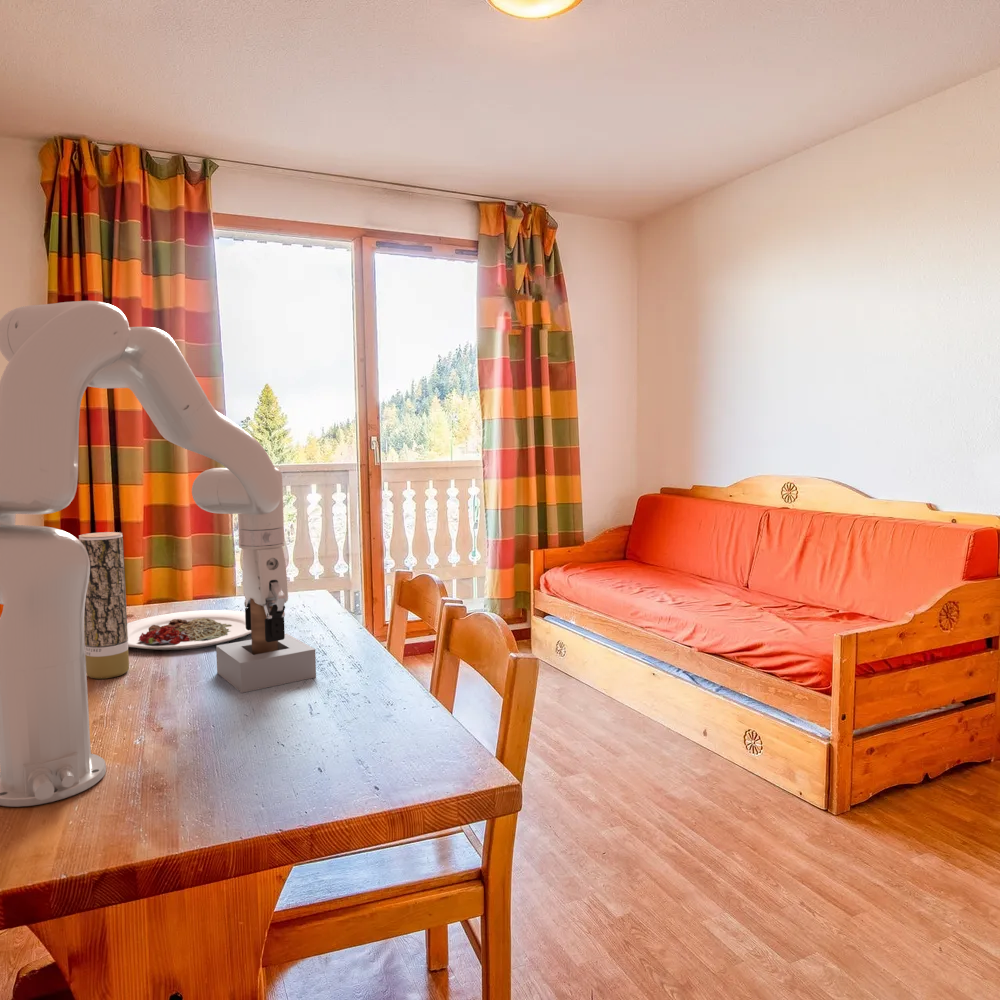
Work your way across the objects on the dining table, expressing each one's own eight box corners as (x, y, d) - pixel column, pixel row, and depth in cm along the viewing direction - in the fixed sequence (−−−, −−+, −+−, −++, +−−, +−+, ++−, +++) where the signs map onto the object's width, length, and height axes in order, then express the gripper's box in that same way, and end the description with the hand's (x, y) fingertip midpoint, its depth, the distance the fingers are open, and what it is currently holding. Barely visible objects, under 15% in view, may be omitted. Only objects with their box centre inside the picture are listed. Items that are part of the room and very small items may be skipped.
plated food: (281, 618, 175) (281, 603, 175) (233, 656, 145) (232, 639, 145) (153, 617, 176) (153, 603, 175) (79, 656, 146) (78, 638, 146)
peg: (282, 675, 132) (280, 597, 131) (258, 681, 130) (255, 601, 129) (273, 669, 136) (271, 593, 135) (249, 674, 133) (246, 596, 132)
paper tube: (111, 681, 130) (104, 537, 128) (77, 678, 131) (69, 536, 129) (137, 669, 137) (131, 532, 134) (105, 667, 138) (97, 531, 136)
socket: (316, 677, 132) (315, 649, 131) (241, 692, 124) (240, 663, 123) (287, 659, 142) (286, 633, 142) (217, 673, 134) (216, 645, 134)
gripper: (302, 541, 126) (304, 641, 128) (264, 531, 140) (267, 621, 141) (257, 546, 122) (261, 649, 123) (223, 534, 135) (227, 628, 137)
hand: (264, 634), depth 132 cm, fingers open, 9 cm apart
